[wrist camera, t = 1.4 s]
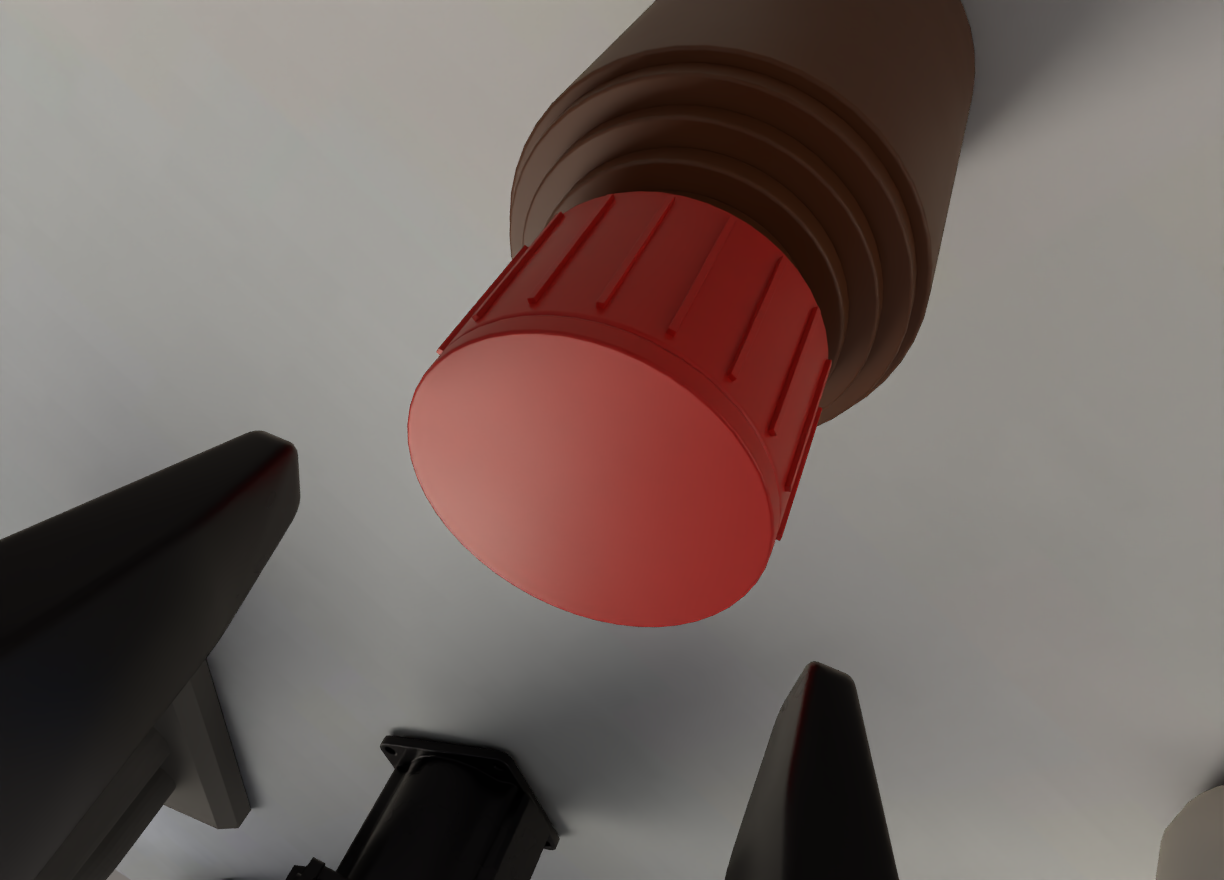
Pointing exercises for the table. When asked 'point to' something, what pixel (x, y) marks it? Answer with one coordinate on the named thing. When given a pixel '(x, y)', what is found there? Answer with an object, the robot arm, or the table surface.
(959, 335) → the table surface
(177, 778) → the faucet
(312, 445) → the table surface
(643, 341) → the cap
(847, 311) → the sauce bottle
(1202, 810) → the plastic bottle
